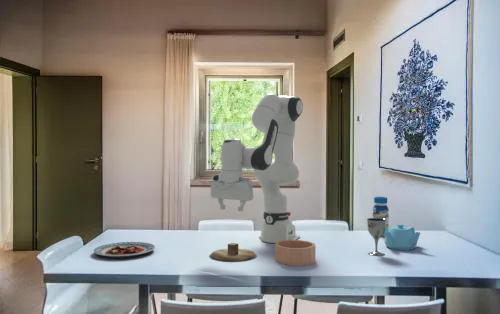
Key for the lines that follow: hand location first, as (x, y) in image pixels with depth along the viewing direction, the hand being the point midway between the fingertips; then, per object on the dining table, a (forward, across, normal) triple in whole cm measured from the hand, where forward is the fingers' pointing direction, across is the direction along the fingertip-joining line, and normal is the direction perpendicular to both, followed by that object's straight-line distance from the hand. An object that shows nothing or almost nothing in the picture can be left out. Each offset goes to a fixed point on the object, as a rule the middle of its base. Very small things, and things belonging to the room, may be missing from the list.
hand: (231, 210), depth 174 cm
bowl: (+20, -24, -11) cm, 33 cm away
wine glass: (+20, -48, -40) cm, 66 cm away
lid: (+19, 0, -1) cm, 19 cm away
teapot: (+20, -53, -59) cm, 82 cm away
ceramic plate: (+20, +42, +21) cm, 51 cm away
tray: (+20, 0, -1) cm, 20 cm away
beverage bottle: (+19, -36, -84) cm, 93 cm away
